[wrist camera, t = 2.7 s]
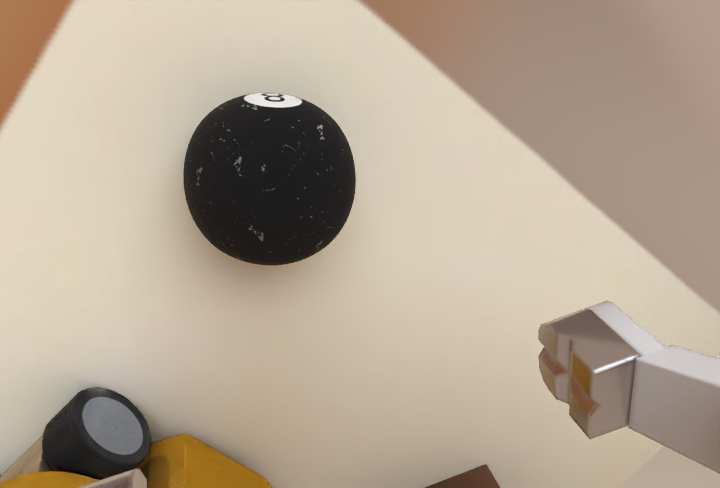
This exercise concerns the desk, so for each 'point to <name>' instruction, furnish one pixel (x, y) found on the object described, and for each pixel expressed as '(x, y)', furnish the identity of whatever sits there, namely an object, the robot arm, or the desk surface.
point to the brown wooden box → (470, 480)
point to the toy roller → (119, 451)
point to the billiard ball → (269, 178)
